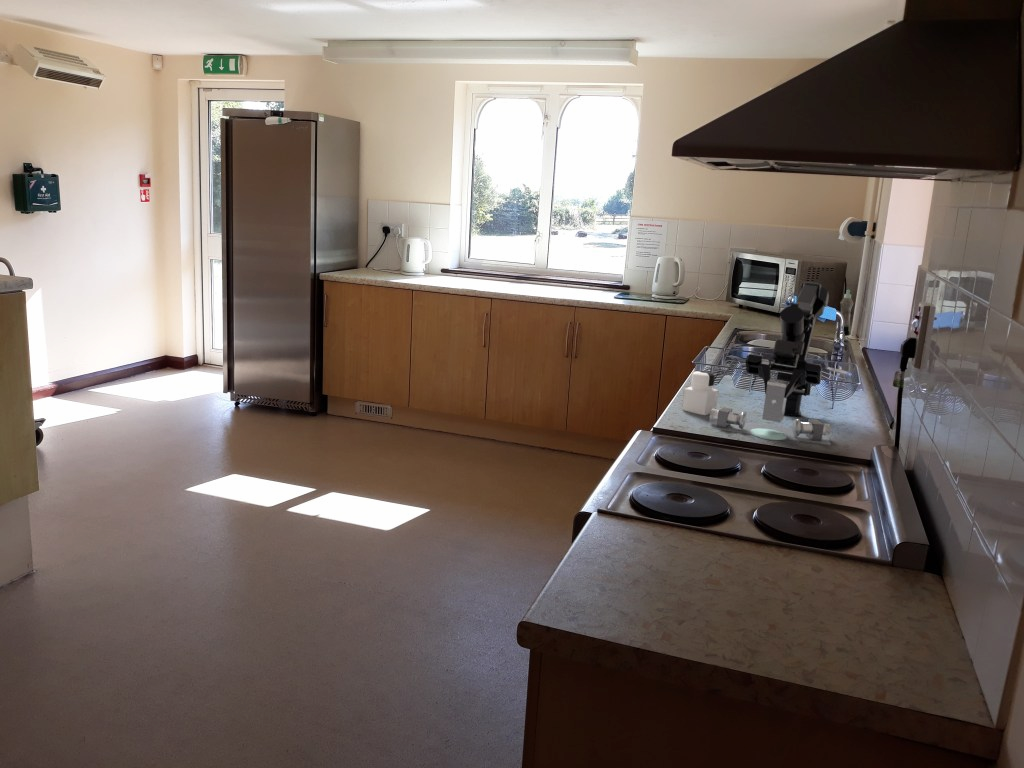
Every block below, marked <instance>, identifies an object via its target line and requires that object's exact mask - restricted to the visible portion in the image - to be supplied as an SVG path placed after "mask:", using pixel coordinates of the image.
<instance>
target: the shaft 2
mask: <svg viewBox="0 0 1024 768" xmlns="http://www.w3.org/2000/svg"><path fill="white" fill-rule="evenodd" d="M791 427H792V428H791V429H792V432H793V435H794V436H799V434H806V436H807V437H808V438H809V439H811V440H812V441H822V435H825V436H828V437H830V435H831V432H832V427H831V424H830V423H823V422H821V421H820V420H819V419H817V418H808V419H807V422H806V421H801V420H800V418H795V419H793V421H792V425H791Z"/></svg>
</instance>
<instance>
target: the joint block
mask: <svg viewBox="0 0 1024 768" xmlns="http://www.w3.org/2000/svg"><path fill="white" fill-rule="evenodd" d="M788 384H789V381H784V380H778V379H777V378H771V379H770V380H769V381H768V382H767V390H766V394H765V397H764V398H765V399H764V404H763V411H762V412H763V413H762V417H761V418H762V420H764V421H771V422H773V423H774V422H775V423H782V422H783V420H784V418H785V414H784V412H785V405H786V399H787V398H785V392H786V389H787V387H788Z"/></svg>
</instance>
